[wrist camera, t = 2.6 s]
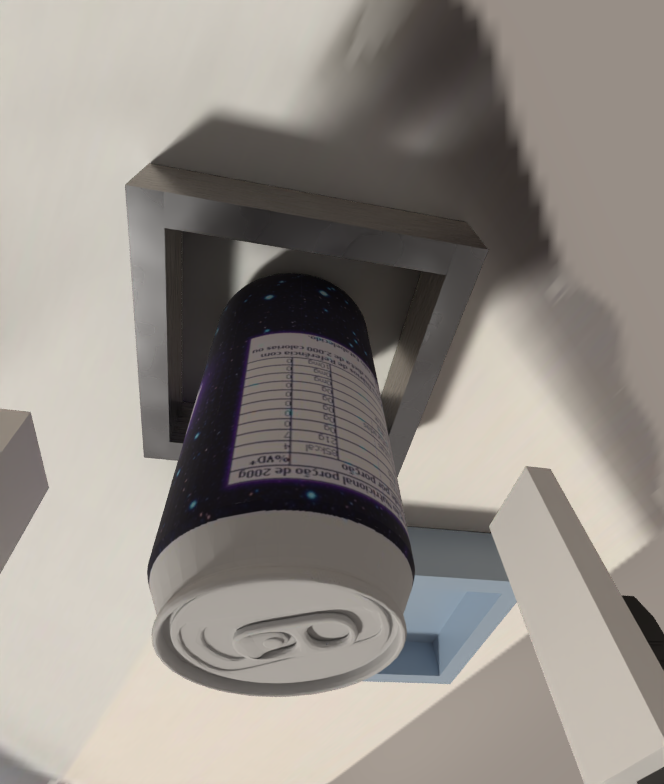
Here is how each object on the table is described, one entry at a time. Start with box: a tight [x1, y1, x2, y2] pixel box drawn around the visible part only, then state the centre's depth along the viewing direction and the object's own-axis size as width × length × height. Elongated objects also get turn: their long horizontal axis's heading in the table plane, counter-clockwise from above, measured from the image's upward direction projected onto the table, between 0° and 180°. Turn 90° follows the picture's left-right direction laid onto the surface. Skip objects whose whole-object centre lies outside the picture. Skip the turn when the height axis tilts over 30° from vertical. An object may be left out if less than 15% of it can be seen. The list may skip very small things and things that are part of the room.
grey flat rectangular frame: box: [125, 163, 488, 491], centre depth 20 cm, size 17×10×3 cm, turn 169°
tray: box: [363, 527, 517, 684], centre depth 29 cm, size 13×13×3 cm
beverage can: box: [147, 273, 415, 697], centre depth 14 cm, size 6×6×12 cm
